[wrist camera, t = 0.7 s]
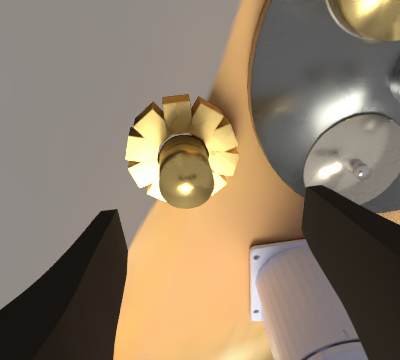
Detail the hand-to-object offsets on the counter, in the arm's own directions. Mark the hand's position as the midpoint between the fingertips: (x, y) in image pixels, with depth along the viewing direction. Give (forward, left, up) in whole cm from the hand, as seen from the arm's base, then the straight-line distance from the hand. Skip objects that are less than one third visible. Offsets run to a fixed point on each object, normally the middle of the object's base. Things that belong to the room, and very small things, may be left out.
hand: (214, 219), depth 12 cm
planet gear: (-1, +1, -10) cm, 10 cm away
